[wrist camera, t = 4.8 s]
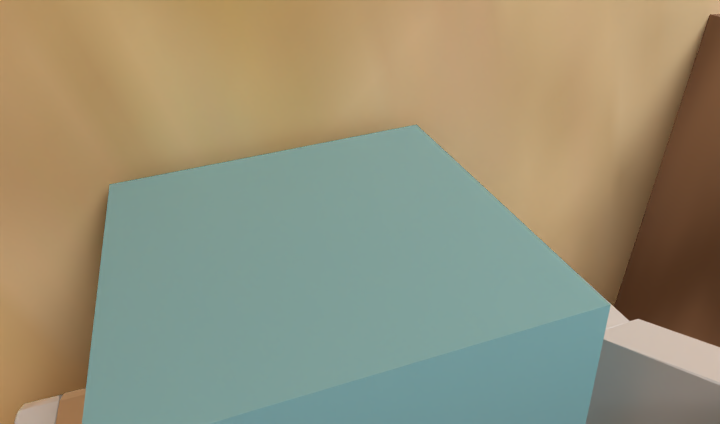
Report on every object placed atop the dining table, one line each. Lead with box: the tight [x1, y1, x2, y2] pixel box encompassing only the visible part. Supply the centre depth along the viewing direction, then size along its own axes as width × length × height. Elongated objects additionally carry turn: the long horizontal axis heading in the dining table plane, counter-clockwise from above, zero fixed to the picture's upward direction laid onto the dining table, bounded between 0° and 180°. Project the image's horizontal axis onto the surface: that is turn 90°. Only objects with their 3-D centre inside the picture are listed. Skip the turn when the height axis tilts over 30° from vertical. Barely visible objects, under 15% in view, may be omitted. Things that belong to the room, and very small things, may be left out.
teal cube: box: [82, 125, 611, 424], centre depth 9 cm, size 5×5×5 cm
